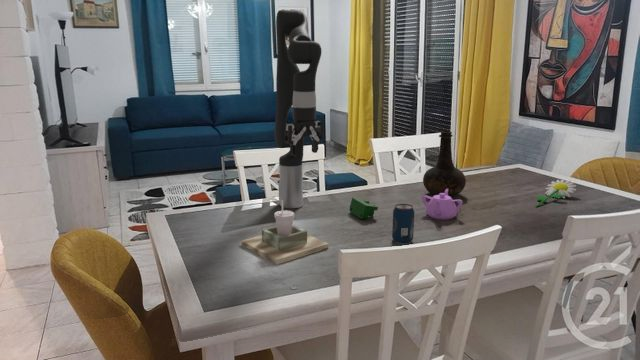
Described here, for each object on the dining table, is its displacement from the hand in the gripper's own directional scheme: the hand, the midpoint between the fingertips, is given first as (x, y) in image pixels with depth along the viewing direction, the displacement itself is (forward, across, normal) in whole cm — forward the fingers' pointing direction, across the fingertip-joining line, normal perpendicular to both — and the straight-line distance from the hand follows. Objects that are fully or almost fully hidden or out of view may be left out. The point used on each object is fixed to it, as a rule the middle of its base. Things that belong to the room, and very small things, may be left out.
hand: (304, 154), depth 168 cm
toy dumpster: (+29, -29, -1) cm, 41 cm away
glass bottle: (+29, -75, 0) cm, 81 cm away
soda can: (+28, -21, +26) cm, 44 cm away
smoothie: (+26, +12, +6) cm, 30 cm away
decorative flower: (+28, -105, +33) cm, 113 cm away
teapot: (+28, -52, +18) cm, 62 cm away
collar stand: (+28, +12, +6) cm, 31 cm away
